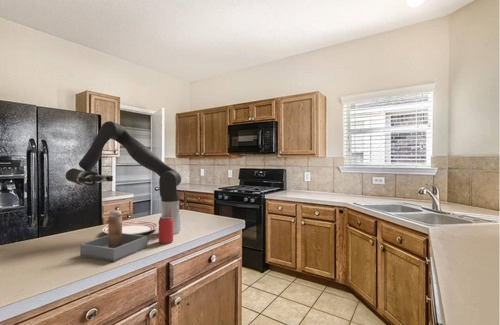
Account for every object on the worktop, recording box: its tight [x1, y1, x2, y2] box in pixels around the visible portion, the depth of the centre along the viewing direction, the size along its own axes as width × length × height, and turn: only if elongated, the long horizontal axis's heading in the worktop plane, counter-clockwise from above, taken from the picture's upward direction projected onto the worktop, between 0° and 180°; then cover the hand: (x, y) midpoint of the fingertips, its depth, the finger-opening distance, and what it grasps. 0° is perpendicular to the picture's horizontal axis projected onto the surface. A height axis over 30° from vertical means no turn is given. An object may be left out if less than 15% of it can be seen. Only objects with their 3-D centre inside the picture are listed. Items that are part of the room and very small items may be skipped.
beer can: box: [158, 216, 174, 245], centre depth 124 cm, size 7×7×12 cm
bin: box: [79, 233, 149, 263], centre depth 111 cm, size 18×18×5 cm
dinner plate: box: [101, 220, 159, 236], centre depth 141 cm, size 27×27×3 cm
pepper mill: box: [107, 210, 123, 248], centre depth 111 cm, size 5×5×16 cm
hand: (101, 179), depth 120 cm, fingers open, 8 cm apart
